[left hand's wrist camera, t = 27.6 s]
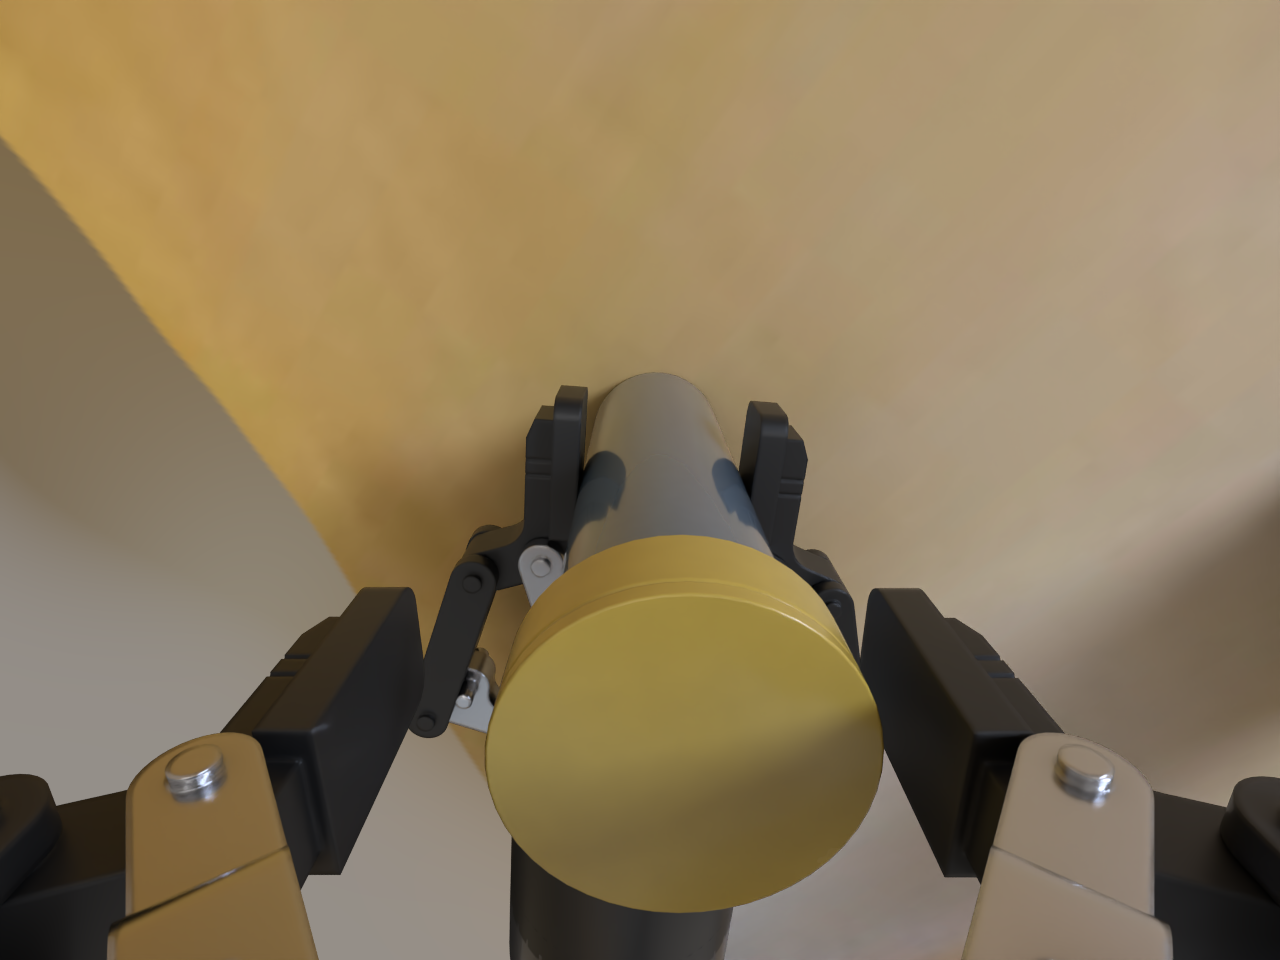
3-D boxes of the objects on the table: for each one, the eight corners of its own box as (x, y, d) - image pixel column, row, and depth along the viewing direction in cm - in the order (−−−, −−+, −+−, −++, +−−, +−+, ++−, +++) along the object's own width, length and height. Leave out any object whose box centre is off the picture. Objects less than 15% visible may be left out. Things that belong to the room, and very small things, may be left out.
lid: (463, 757, 11) (433, 850, 10) (581, 478, 10) (570, 530, 8) (753, 853, 12) (771, 954, 10) (909, 608, 10) (963, 680, 9)
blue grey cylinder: (573, 457, 25) (482, 773, 10) (629, 349, 24) (615, 539, 9) (679, 509, 26) (733, 873, 11) (739, 408, 24) (889, 670, 10)
